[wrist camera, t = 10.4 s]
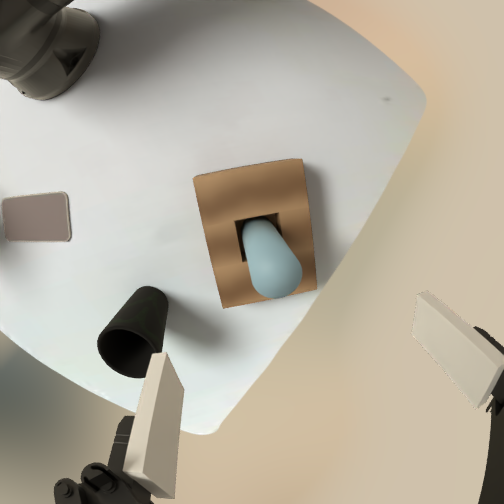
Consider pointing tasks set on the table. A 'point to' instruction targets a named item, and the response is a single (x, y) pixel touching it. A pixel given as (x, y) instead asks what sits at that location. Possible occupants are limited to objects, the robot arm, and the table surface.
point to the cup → (135, 333)
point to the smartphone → (36, 217)
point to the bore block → (251, 205)
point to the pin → (269, 259)
